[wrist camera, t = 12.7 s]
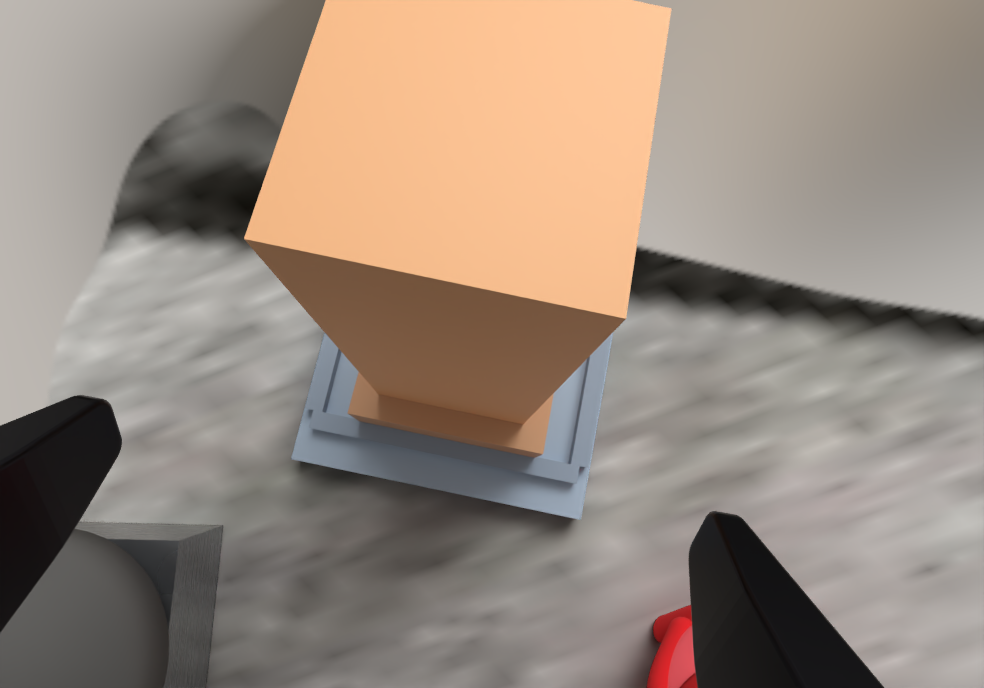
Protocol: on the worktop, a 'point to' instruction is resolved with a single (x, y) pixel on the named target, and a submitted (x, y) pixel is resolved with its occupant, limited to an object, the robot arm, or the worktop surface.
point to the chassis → (457, 443)
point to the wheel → (88, 623)
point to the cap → (673, 651)
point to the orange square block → (465, 201)
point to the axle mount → (176, 586)
